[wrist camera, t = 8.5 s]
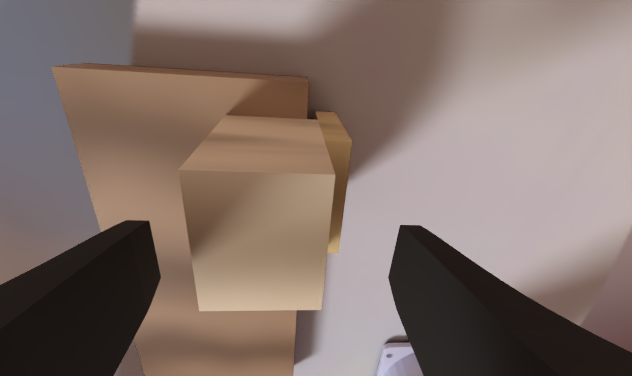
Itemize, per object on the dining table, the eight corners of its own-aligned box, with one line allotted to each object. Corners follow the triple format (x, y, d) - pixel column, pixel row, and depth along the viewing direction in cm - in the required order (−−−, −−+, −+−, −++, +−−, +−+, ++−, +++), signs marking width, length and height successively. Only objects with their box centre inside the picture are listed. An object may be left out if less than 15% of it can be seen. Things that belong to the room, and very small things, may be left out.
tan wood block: (326, 200, 17) (350, 309, 10) (237, 198, 17) (199, 311, 10) (335, 112, 15) (372, 176, 8) (232, 106, 14) (178, 169, 8)
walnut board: (292, 367, 24) (292, 393, 22) (162, 370, 23) (151, 398, 21) (306, 76, 14) (309, 82, 13) (83, 62, 13) (51, 66, 12)
